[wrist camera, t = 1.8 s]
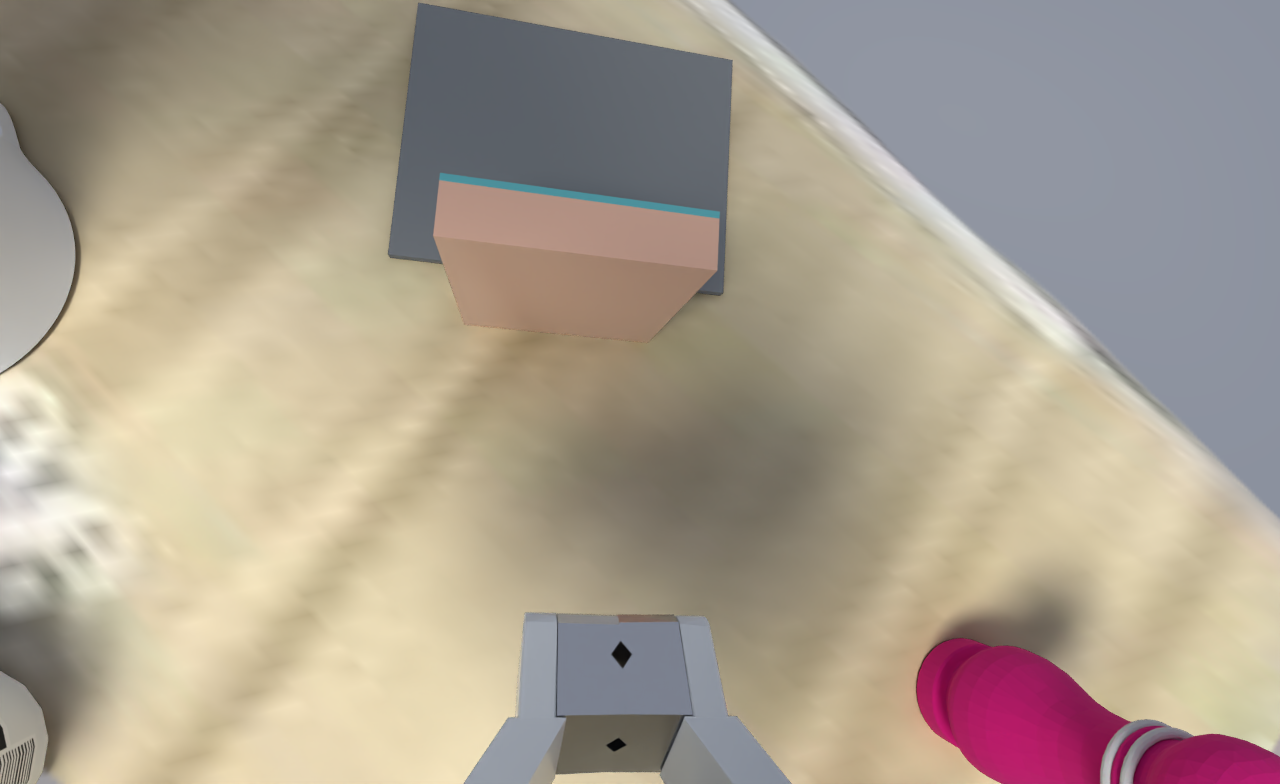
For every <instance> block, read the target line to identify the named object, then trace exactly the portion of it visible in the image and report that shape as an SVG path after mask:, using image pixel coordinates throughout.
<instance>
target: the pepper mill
mask: <svg viewBox="0 0 1280 784" xmlns="http://www.w3.org/2000/svg"><path fill="white" fill-rule="evenodd" d="M917 698H918V704H919V707H920V710H921V713H922V715H923V717H924V719H925V721H926V722H927V724H928V725H929V726H930V728H931V729H932V730H933V731H934V732H935V733H936V734H937V735H939V736H940V737H942V738H943V739H945V740H946V741H948V742H950V743H951V744H953V745H955V746H956V747H958V748H959V749H960V750H961V752H962V754H963V755H964V756H965V757H966V759H967V760H968V761H969V762H970V763H971V764H972V765H973V766H974V767H975V768H977V769H978V770H979V771H980V772H982V773H983V774H985V775H986V776H988V777H990V778H992V779H994V780H996V781H997V782H999V783H1001V784H1280V757H1279V756H1277V755H1276V754H1274V753H1272V752H1270V751H1268V750H1266V749H1263V748H1261V747H1259V746H1257V745H1255V744H1253V743H1250V742H1248V741H1245V740H1241V739H1238V738H1234V737H1230V736H1225V735H1220V734H1206V735H1199V736H1193V735H1191V734H1189V733H1187V732H1185V731H1183V730H1180V729H1177V728H1172V727H1170V726H1168V725H1166V724H1164V723H1162V722H1159V721H1155V720H1148V719H1145V720H1137V721H1134V722H1130V721H1127V720H1125V719H1123V718H1121V717H1119V716H1117V715H1115V714H1113V713H1111V712H1109V711H1108V710H1107V709H1105V708H1104V707H1102V706H1101V705H1100V704H1098V703H1097V702H1096V701H1095V700H1094V699H1092V698H1091V697H1090V696H1089V695H1088V694H1087V693H1086V692H1085V691H1084V690H1083V689H1082V688H1081V687H1080V686H1079V685H1078V684H1077V683H1076V682H1075V681H1074V680H1073V679H1072V678H1071V677H1070V676H1069V675H1068V674H1067V673H1065V672H1064V671H1063V670H1061V669H1060V668H1058V667H1057V666H1055V665H1054V664H1053V663H1051V662H1050V661H1048V660H1047V659H1045V658H1043V657H1040V656H1038V655H1036V654H1034V653H1032V652H1030V651H1027V650H1025V649H1021V648H1018V647H1013V646H996V647H990V646H988V645H985V644H982V643H979V642H977V641H974V640H971V639H964V638H958V639H951V640H948V641H945V642H943V643H941V644H940V645H938V646H937V647H935V648H934V649H933V650H932V651H931V652H930V654H929V655H928V656H927V657H926V658H925V660H924V662H923V664H922V667H921V669H920V671H919V675H918V681H917Z"/></svg>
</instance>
